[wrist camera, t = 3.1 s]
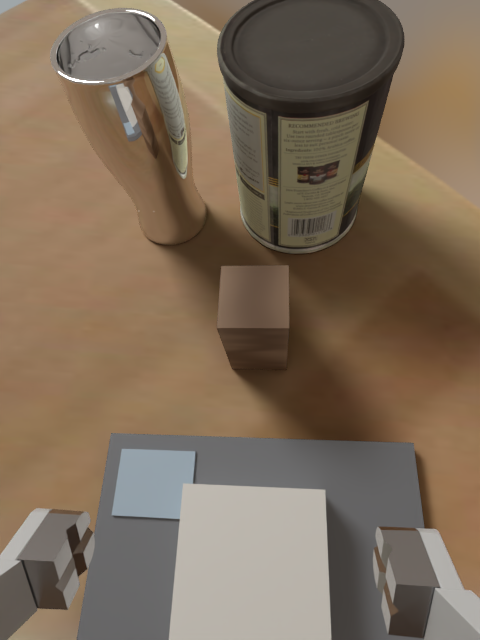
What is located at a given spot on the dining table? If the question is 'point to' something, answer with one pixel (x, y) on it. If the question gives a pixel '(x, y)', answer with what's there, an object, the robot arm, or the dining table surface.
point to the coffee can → (305, 112)
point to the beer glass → (134, 115)
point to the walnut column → (254, 316)
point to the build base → (255, 462)
